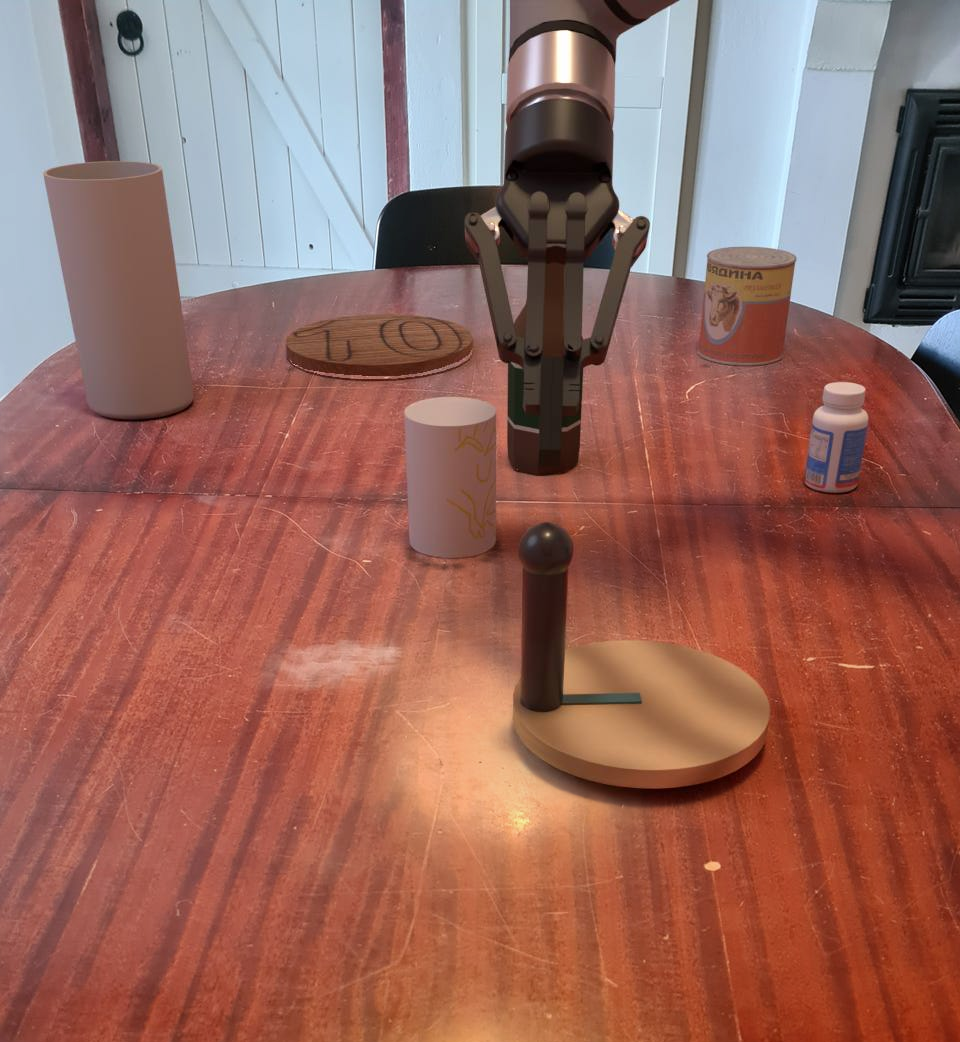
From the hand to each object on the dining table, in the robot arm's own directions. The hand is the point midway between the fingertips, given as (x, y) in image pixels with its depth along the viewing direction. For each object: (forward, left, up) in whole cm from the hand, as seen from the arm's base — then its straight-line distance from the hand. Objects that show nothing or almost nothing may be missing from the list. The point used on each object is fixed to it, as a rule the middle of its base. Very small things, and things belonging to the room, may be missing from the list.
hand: (549, 458), depth 83 cm
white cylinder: (+14, -25, -18) cm, 34 cm away
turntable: (-8, +5, -16) cm, 19 cm away
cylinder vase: (+61, -55, -18) cm, 84 cm away
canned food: (-7, -94, -18) cm, 96 cm away
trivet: (+40, -83, -18) cm, 94 cm away
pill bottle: (-20, -48, -18) cm, 55 cm away
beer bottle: (+10, -47, -18) cm, 51 cm away
